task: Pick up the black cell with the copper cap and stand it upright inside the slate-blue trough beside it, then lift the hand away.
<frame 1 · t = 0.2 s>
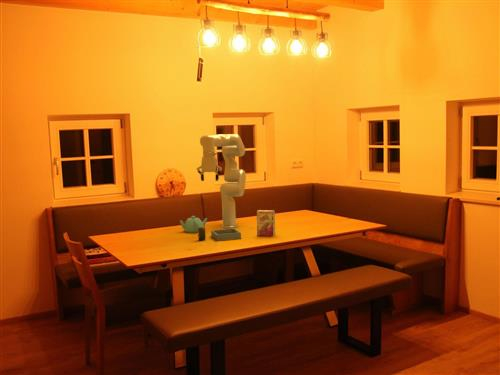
hand: (209, 180, 339), 37 cm above the table, tool pointing down, fingers open, 9 cm apart
teapot: (194, 231, 362), on the table
trough: (225, 237, 336), on the table
battery cell: (202, 240, 330), on the table
candy bar box: (266, 235, 339), on the table
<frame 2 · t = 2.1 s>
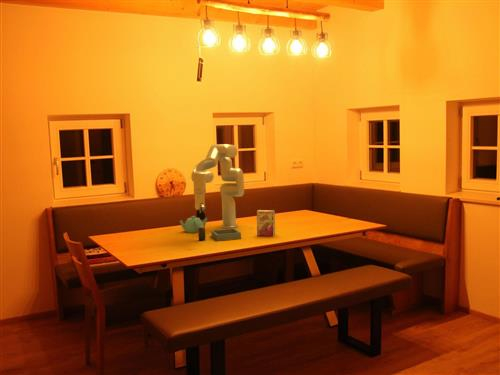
hand: (200, 218, 328), 14 cm above the table, tool pointing down, fingers open, 9 cm apart
nothing on the table moved.
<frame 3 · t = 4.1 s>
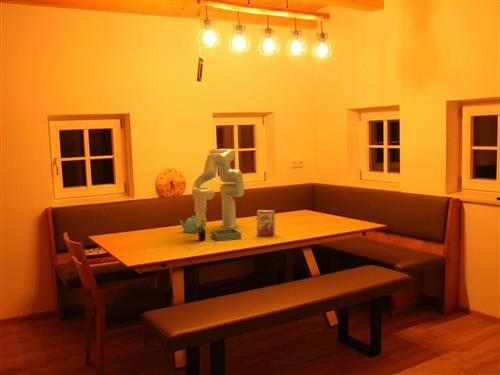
hand: (201, 236, 330), 2 cm above the table, tool pointing down, fingers closed on battery cell, 4 cm apart
battery cell: (202, 240, 330), on the table, touching gripper
everything else where it was.
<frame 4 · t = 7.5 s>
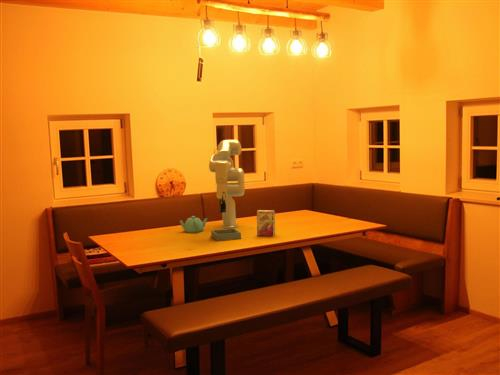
hand: (222, 208, 334), 19 cm above the table, tool pointing down, fingers closed on battery cell, 4 cm apart
battery cell: (222, 212, 334), point 17 cm above the table, touching gripper
everything else where it was.
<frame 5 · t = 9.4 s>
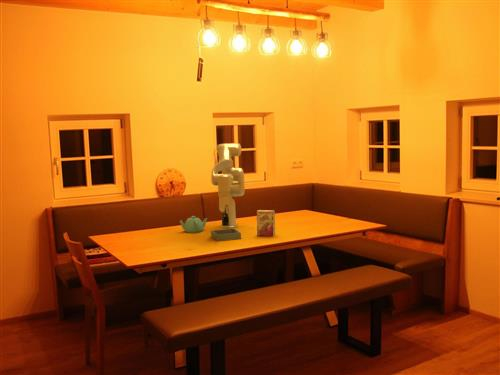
hand: (225, 221, 335), 10 cm above the table, tool pointing down, fingers closed on battery cell, 4 cm apart
battery cell: (225, 225, 335), point 8 cm above the table, touching gripper
everything else where it was.
when the fingers open (4 cm above the table, at t = 10.9 s): battery cell stays where it is, resting on trough.
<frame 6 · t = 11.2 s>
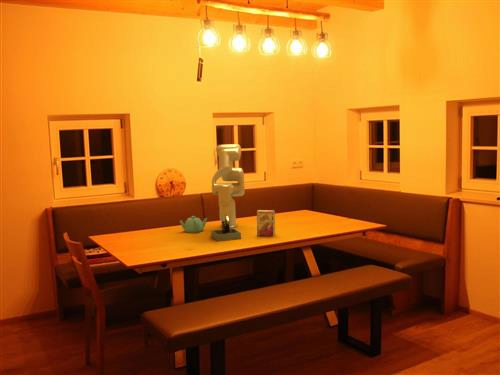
hand: (225, 230, 335), 5 cm above the table, tool pointing down, fingers open, 7 cm apart
battery cell: (225, 236, 336), point 1 cm above the table, touching trough
everything else where it was.
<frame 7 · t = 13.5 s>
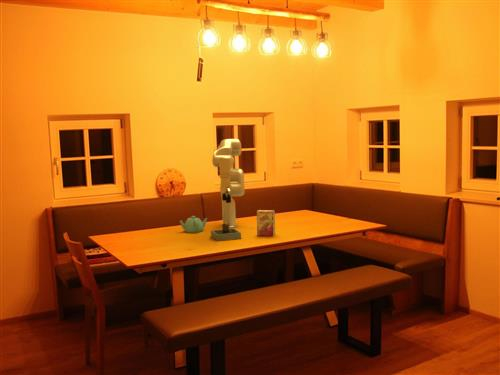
hand: (226, 201, 338), 23 cm above the table, tool pointing down, fingers open, 9 cm apart
nothing on the table moved.
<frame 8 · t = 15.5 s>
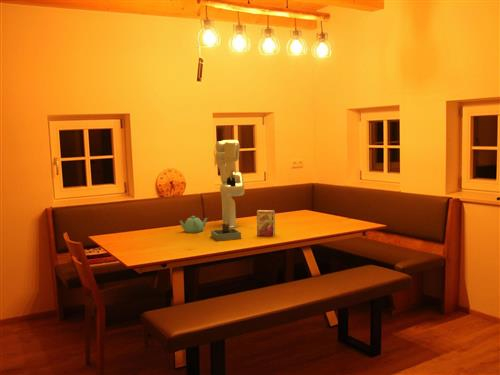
hand: (231, 185, 346), 32 cm above the table, tool pointing down, fingers open, 9 cm apart
nothing on the table moved.
at the end: battery cell inside the target area on the trough (0.0 cm from its centre), point 1.0 cm above the trough's base; battery cell tilted 0°; the gripper is holding nothing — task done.
